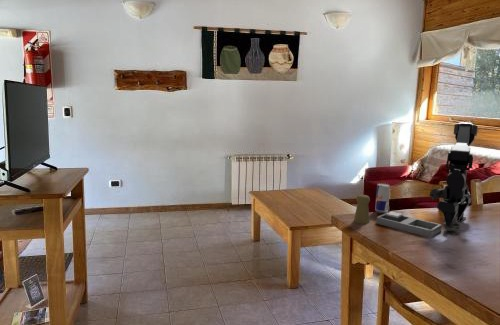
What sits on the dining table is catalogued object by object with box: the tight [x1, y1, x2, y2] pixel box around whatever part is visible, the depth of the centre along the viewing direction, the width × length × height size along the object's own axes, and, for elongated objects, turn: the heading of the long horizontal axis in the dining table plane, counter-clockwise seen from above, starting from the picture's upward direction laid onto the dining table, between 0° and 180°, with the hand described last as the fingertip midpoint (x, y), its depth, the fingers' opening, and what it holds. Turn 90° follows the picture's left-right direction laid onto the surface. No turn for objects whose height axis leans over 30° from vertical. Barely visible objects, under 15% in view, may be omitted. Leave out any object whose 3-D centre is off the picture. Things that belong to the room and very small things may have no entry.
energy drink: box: [374, 183, 391, 214], centre depth 179 cm, size 5×5×12 cm
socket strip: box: [375, 211, 443, 238], centre depth 160 cm, size 10×21×3 cm, turn 46°
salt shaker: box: [443, 212, 462, 237], centre depth 153 cm, size 6×6×12 cm
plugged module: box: [385, 211, 404, 222], centre depth 163 cm, size 5×5×4 cm
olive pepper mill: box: [353, 194, 371, 225], centre depth 165 cm, size 6×6×11 cm
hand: (452, 224), depth 154 cm, fingers closed on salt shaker, 8 cm apart
